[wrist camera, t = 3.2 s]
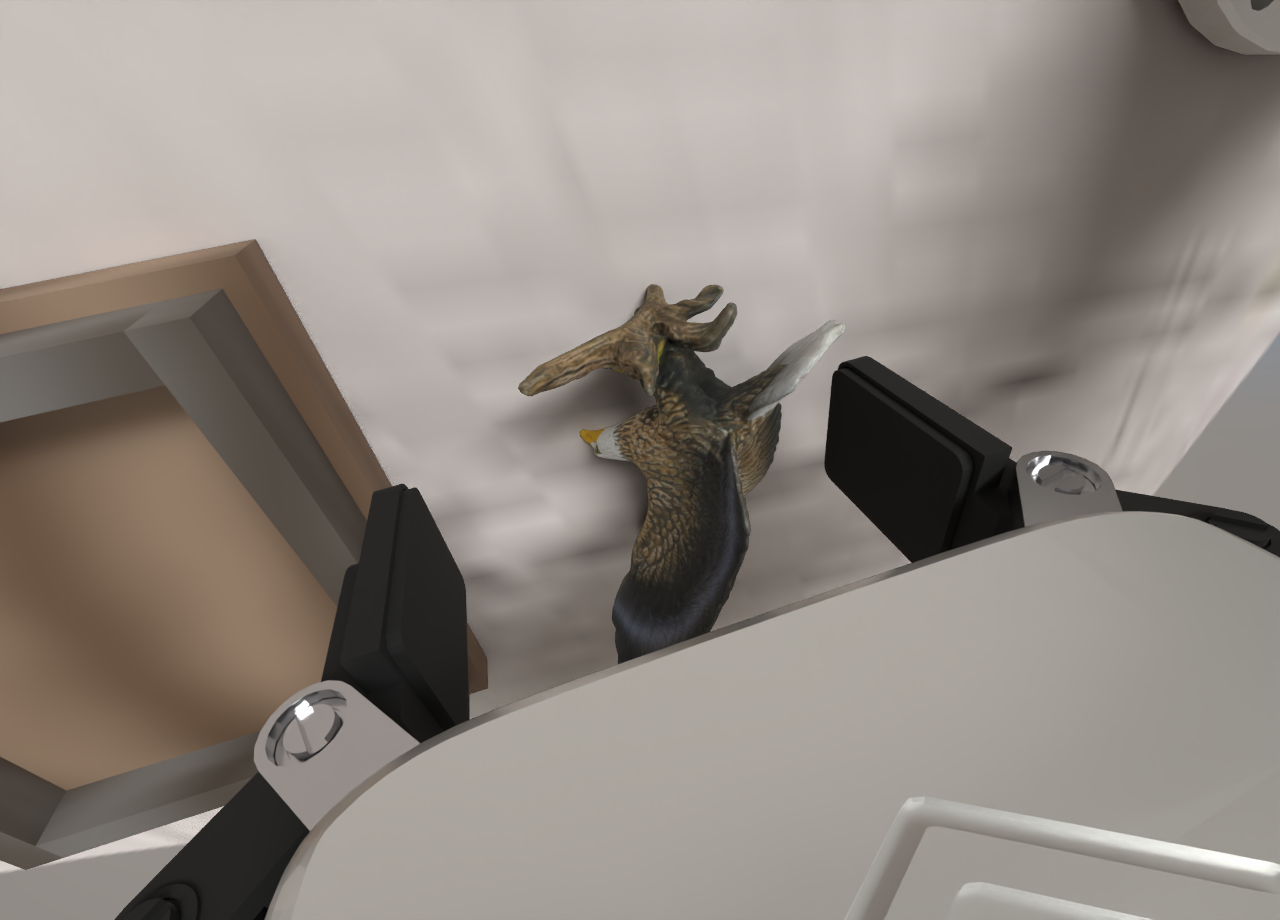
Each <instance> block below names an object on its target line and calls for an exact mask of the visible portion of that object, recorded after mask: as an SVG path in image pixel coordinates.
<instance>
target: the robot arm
mask: <svg viewBox="0 0 1280 920" xmlns="http://www.w3.org/2000/svg"><path fill="white" fill-rule="evenodd" d="M1178 1H1179V3H1180V5H1181V7H1182V9H1183V11H1184V13H1185V15H1186V17H1187V19H1188V21H1189V23H1190V24H1191V25H1192V26H1193V27H1194V28H1195V29H1197V30H1198V31H1199V32H1200V33H1201V34H1202V35H1203V36H1205V37H1206V38H1207V39H1208V40H1209V41H1210V42H1211V43H1212V44H1214V45H1215V46H1218V47H1221V48H1224V49H1228V50H1231V51H1234V52H1237V53H1240V54H1244V55H1259V54H1280V0H1178ZM1011 450H1012V447H1011V446H1009V445H1008V444H1006V443H1004V442H1003V441H1001V440H1000V439H998V438H997V437H995V436H993V435H992V434H990V433H989V432H987V431H986V430H984V429H982V428H981V427H979V426H978V425H976V424H974V423H973V422H971V421H970V420H968V419H967V418H965V417H963V416H962V415H960V414H959V413H957V412H956V411H954V410H952V409H951V408H949V407H948V406H946V405H945V404H943V403H941V402H940V401H938V400H937V399H935V398H934V397H932V396H930V395H929V394H927V393H926V392H924V391H923V390H921V389H919V388H918V387H916V386H915V385H913V384H912V383H910V382H908V381H907V380H905V379H904V378H902V377H901V376H899V375H897V374H896V373H894V372H893V371H891V370H890V369H888V368H886V367H885V366H883V365H882V364H880V363H879V362H877V361H875V360H874V359H872V358H871V357H868V356H864V357H860V358H856V359H853V360H849V361H846V362H843V363H841V364H840V365H839V367H838V370H837V371H835V372H834V374H833V376H832V385H831V397H830V408H829V419H828V430H827V441H826V452H825V470H826V473H827V475H828V477H829V478H830V479H831V481H832V482H833V483H834V484H835V485H836V486H837V487H838V488H839V489H840V490H841V491H842V492H843V493H844V494H845V495H846V496H847V497H848V498H849V499H850V500H851V501H852V502H853V503H854V504H855V505H856V506H857V507H858V508H859V509H860V510H861V511H862V512H863V513H864V514H865V515H866V516H867V517H868V518H869V519H870V520H871V522H872V523H873V524H874V525H875V526H876V527H877V528H878V529H879V530H880V531H881V532H882V533H883V534H884V535H885V536H886V537H887V538H888V539H889V540H890V541H891V542H892V543H893V544H894V545H895V546H896V547H897V548H898V549H899V550H900V551H901V552H902V553H903V554H904V555H905V556H906V557H907V558H908V559H909V560H910V561H911V562H912V563H911V564H908V565H905V566H902V567H899V568H896V569H893V570H890V571H887V572H884V573H881V574H878V575H875V576H872V577H869V578H866V579H863V580H861V581H858V582H855V583H852V584H849V585H846V586H843V587H840V588H837V589H834V590H831V591H828V592H825V593H822V594H819V595H817V596H814V597H811V598H808V599H805V600H802V601H799V602H796V603H793V604H790V605H788V606H785V607H782V608H779V609H776V610H773V611H770V612H767V613H764V614H761V615H759V616H756V617H753V618H750V619H747V620H744V621H741V622H738V623H735V624H732V625H730V626H727V627H724V628H721V629H718V630H715V631H712V632H709V633H706V634H704V635H701V636H698V637H695V638H692V639H689V640H686V641H684V642H681V643H678V644H675V645H672V646H669V647H667V648H664V649H661V650H658V651H655V652H652V653H649V654H647V655H644V656H641V657H638V658H635V659H632V660H629V661H627V662H624V663H621V664H618V665H615V666H612V667H610V668H607V669H604V670H601V671H598V672H595V673H592V674H590V675H587V676H584V677H581V678H578V679H576V680H573V681H570V682H567V683H565V684H562V685H559V686H557V687H554V688H551V689H548V690H546V691H543V692H540V693H538V694H535V695H532V696H529V697H527V698H524V699H521V700H519V701H516V702H513V703H510V704H508V705H505V706H502V707H500V708H497V709H495V710H492V711H490V712H488V713H485V714H483V715H480V716H478V717H476V718H473V719H471V720H470V719H469V684H468V649H467V614H466V589H465V584H464V580H463V577H462V575H461V573H460V571H459V569H458V567H457V565H456V563H455V561H454V559H453V557H452V555H451V553H450V551H449V549H448V547H447V545H446V543H445V541H444V539H443V537H442V535H441V533H440V531H439V529H438V527H437V525H436V523H435V521H434V519H433V517H432V515H431V513H430V511H429V509H428V507H427V505H426V503H425V502H424V500H423V498H422V496H421V494H420V492H419V490H418V489H417V488H412V489H408V488H407V486H406V485H405V484H399V485H396V486H392V487H388V488H385V489H381V490H378V491H375V492H373V495H372V499H371V504H370V509H369V514H368V519H367V524H366V529H365V534H364V539H363V545H362V550H361V555H360V560H359V563H358V564H354V565H351V566H349V567H348V568H347V570H346V572H345V575H344V579H343V584H342V588H341V593H340V597H339V602H338V606H337V611H336V615H335V620H334V624H333V629H332V634H331V638H330V643H329V647H328V652H327V656H326V661H325V665H324V670H323V674H322V679H321V682H320V683H316V684H313V685H311V686H309V687H307V688H305V689H303V690H301V691H299V692H297V693H296V694H294V695H293V696H292V697H290V698H289V699H288V700H286V701H285V702H284V703H283V704H282V705H281V706H280V707H279V708H278V709H277V710H276V711H275V712H274V713H273V714H272V715H271V716H270V717H269V719H268V720H267V722H266V723H265V725H264V726H263V728H262V729H261V731H260V733H259V736H258V739H257V741H256V744H255V746H254V762H255V764H256V767H257V769H258V772H257V773H256V774H255V775H254V777H253V778H252V779H251V780H250V781H249V782H248V783H247V784H246V785H245V786H244V787H243V788H242V789H241V790H240V791H239V792H238V793H237V794H236V795H235V796H234V797H233V798H232V799H231V800H230V801H229V802H228V803H227V804H226V805H225V806H224V807H223V808H222V809H221V810H220V811H219V812H218V813H217V814H216V815H215V816H214V817H213V818H212V819H211V820H210V821H209V822H208V823H207V824H206V825H205V826H204V827H203V828H202V830H201V831H200V832H199V833H198V834H197V835H196V836H195V837H194V838H193V839H192V840H191V841H190V842H189V843H188V844H187V845H186V846H185V847H184V848H183V849H182V850H181V851H180V852H179V853H178V854H177V855H176V856H175V857H174V858H173V859H172V860H171V861H170V862H169V863H168V864H167V865H166V866H165V867H164V868H163V869H162V870H161V871H160V872H159V873H158V874H157V875H156V876H155V877H154V878H153V880H152V881H150V883H149V884H148V885H147V886H146V887H145V888H144V889H143V890H142V891H141V892H140V893H139V894H138V895H137V896H136V897H135V898H134V899H133V900H132V901H131V902H130V903H129V904H128V905H127V906H126V907H125V908H124V909H123V911H122V912H121V913H120V914H119V915H118V916H117V917H116V919H115V920H1280V531H1279V530H1278V529H1276V528H1275V527H1273V526H1271V525H1269V524H1267V523H1265V522H1264V521H1262V520H1261V519H1259V518H1257V517H1255V516H1252V515H1250V514H1247V513H1244V512H1239V511H1234V510H1229V509H1225V508H1219V507H1213V506H1207V505H1202V504H1196V503H1190V502H1184V501H1178V500H1172V499H1167V498H1160V497H1155V496H1149V495H1143V494H1137V493H1132V492H1126V491H1120V490H1115V488H1114V485H1113V482H1112V480H1111V478H1110V477H1109V475H1108V474H1107V472H1105V471H1104V470H1103V469H1102V468H1100V467H1099V466H1098V465H1096V464H1094V463H1092V462H1090V461H1088V460H1086V459H1084V458H1081V457H1078V456H1075V455H1072V454H1067V453H1062V452H1056V451H1040V452H1033V453H1029V454H1027V455H1024V456H1022V457H1021V458H1020V459H1019V460H1018V461H1017V463H1016V462H1014V461H1013V460H1011V459H1010V458H1009V456H1010V453H1011Z"/></svg>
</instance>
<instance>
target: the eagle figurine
mask: <svg viewBox="0 0 1280 920" xmlns="http://www.w3.org/2000/svg"><path fill="white" fill-rule="evenodd" d="M723 291H724V289H723V287H721V286H718V285H709V286H707V287H705V288H704V289H703V290H702V291H701V292H700V293H699V295H698V296H697V297H696V298H695V299H692V300H683V301H680V302H679V303H677V304H673V305H668V304H667V303H666V301H665V299H664V295H663V291H662V289H661V287H660V286H658V285H652V284H651V285H650V286H648V288H647V292H646V300H645V303H644V304H642V306H640V307H639V308H637V309H636V311H635V313H634V316H633V317H632V318H631V319H630V320H629V321H627V322H626V323H625V324H624V325H622V326H621V327H619V328H617V329H614V330H611V331H608V332H606V333H604V334H602V335H600V336H597V337H595V338H593V339H592V340H590V341H588V342H586V343H584V344H582V345H580V346H578V347H576V348H575V349H573V350H570V351H568V352H566V353H564V354H562V355H560V356H558V357H556V358H554V359H552V360H550V361H548V362H546V363H544V364H542V365H540V366H538V367H537V368H536V369H535V370H534V371H533V372H532V373H531V374H530V375H529V376H528V377H527V378H526V379H525V380H524V381H523V382H521V383H520V385H519V387H518V389H519V390H520V392H521V393H523V394H525V395H527V396H533V395H535V394H538V393H540V392H543V391H547V390H551V389H555V388H557V387H560V386H563V385H565V384H567V383H569V382H570V381H572V380H575V379H580V378H582V377H584V376H586V375H587V374H588V373H589V372H591V371H593V370H595V369H597V368H605V369H608V368H610V369H613V370H615V371H617V372H622V373H625V374H626V375H627V376H628V377H630V378H632V379H634V380H636V379H639V380H640V383H641V385H642V387H643V388H644V392H645V394H646V395H647V396H649V397H650V396H652V395H654V396H655V398H656V404H657V405H655V406H653V407H649V408H646V409H644V410H642V411H640V412H638V413H636V414H634V415H632V416H631V417H629V418H627V419H626V420H625V421H623V422H621V423H619V424H617V425H615V426H610V427H606V428H604V429H601V430H598V431H587V430H584V429H582V430H581V431H580V437H582V438H583V439H584V440H585V441H586V442H587V443H588V444H590V445H591V446H592V447H593V448H594V453H595V454H596V455H597V456H598V457H602V458H608V459H614V460H623V461H629V462H633V463H635V464H636V465H637V466H638V467H639V468H640V469H641V471H642V473H643V474H644V476H645V479H646V486H647V496H648V509H647V515H646V519H645V521H644V524H643V527H642V529H641V531H640V533H639V535H638V537H637V539H636V541H635V544H634V547H633V551H632V558H631V568H630V571H629V573H628V574H627V575H626V576H625V578H624V579H623V581H622V584H621V586H620V588H619V591H618V593H617V596H616V599H615V602H614V607H613V611H612V620H613V623H614V626H615V628H616V632H615V644H616V649H617V652H618V664H621V663H624V662H627V661H629V660H632V659H635V658H638V657H641V656H644V655H647V654H649V653H652V652H655V651H658V650H661V649H664V648H667V647H669V646H672V645H675V644H678V643H681V642H684V641H686V640H689V639H692V638H695V637H698V636H701V635H704V634H706V633H709V632H710V631H711V629H712V627H713V625H714V623H715V621H716V620H717V618H718V615H719V613H720V611H721V609H722V607H723V605H724V604H725V602H726V601H727V599H728V598H729V594H730V591H731V590H732V588H733V585H734V582H735V579H736V575H737V573H738V571H739V569H740V567H741V564H742V562H743V560H744V557H745V554H746V551H747V549H748V543H749V535H750V531H751V529H750V521H749V515H748V511H747V508H746V502H745V498H744V496H745V495H746V494H747V493H749V492H750V491H751V490H752V489H753V488H754V487H755V486H756V485H757V484H758V483H759V482H760V480H761V479H762V478H763V477H764V476H765V474H766V472H767V470H768V469H769V467H770V464H771V463H772V462H773V457H774V452H775V451H776V445H777V443H778V441H779V435H778V434H779V431H780V426H781V416H782V414H781V404H779V401H780V400H781V399H782V398H783V397H785V396H786V395H788V394H790V393H791V392H792V391H794V390H795V387H796V386H797V384H798V383H799V381H800V380H801V379H803V378H804V377H805V376H806V375H807V374H808V373H809V372H810V370H811V369H812V367H813V366H814V365H815V364H816V362H818V361H819V359H820V358H821V356H822V355H823V354H824V352H826V350H827V349H828V348H829V347H830V346H831V345H832V343H833V342H834V341H835V340H836V339H838V338H839V337H840V335H841V334H842V333H843V332H844V330H845V327H846V324H845V323H838V321H836V320H832V321H829V322H827V323H826V324H824V325H823V326H822V327H821V328H819V329H818V330H817V331H815V332H814V333H811V334H810V335H808V336H807V337H805V338H804V339H801V340H799V341H798V342H796V343H794V344H793V345H791V346H790V347H789V348H787V349H786V350H785V351H784V352H783V353H782V354H781V355H780V356H779V357H778V358H777V359H776V360H775V361H774V362H773V363H772V365H771V366H770V367H769V368H768V369H767V370H766V371H764V372H762V373H760V374H759V375H757V376H754V377H752V378H750V379H749V380H747V381H745V382H743V383H741V384H738V385H736V386H734V387H730V386H728V385H726V384H725V383H724V382H722V381H721V380H719V379H718V378H716V377H715V374H714V371H713V370H711V369H709V368H706V367H705V364H704V363H703V362H702V361H701V360H700V358H699V357H698V356H697V355H696V354H695V352H694V351H699V352H710V351H714V350H716V349H718V348H719V346H720V343H721V340H722V338H723V337H724V336H725V335H726V333H727V331H728V330H729V328H730V327H731V326H732V324H733V322H734V320H735V318H736V315H737V307H736V304H734V303H729V304H727V306H726V307H725V308H724V309H723V310H722V311H721V313H720V314H719V315H718V316H717V318H716V319H715V320H714V321H713V322H710V323H690V322H687V321H686V320H688V319H690V318H691V317H693V316H695V315H697V314H699V313H702V312H704V311H707V310H709V309H710V308H711V307H712V306H713V305H714V304H715V303H716V302H717V300H718V299H719V298H720V297H721V295H722V294H723Z"/></svg>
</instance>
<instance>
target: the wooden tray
mask: <svg viewBox="0 0 1280 920" xmlns="http://www.w3.org/2000/svg"><path fill="white" fill-rule="evenodd" d="M388 487H392V486H391V484H390V482H389V480H388V479H387V477H386V475H385V473H384V471H383V470H382V468H381V466H380V464H379V462H378V460H377V459H376V457H375V455H374V453H373V451H372V450H371V448H370V446H369V444H368V442H367V441H366V439H365V437H364V435H363V433H362V431H361V430H360V428H359V426H358V424H357V422H356V421H355V419H354V417H353V415H352V413H351V412H350V410H349V408H348V406H347V404H346V403H345V401H344V399H343V397H342V395H341V393H340V392H339V390H338V388H337V386H336V384H335V383H334V381H333V379H332V377H331V375H330V374H329V372H328V370H327V368H326V366H325V364H324V363H323V361H322V359H321V357H320V355H319V354H318V352H317V350H316V348H315V346H314V345H313V343H312V341H311V339H310V337H309V335H308V334H307V332H306V330H305V328H304V326H303V325H302V323H301V321H300V319H299V317H298V316H297V314H296V312H295V310H294V308H293V306H292V305H291V303H290V301H289V299H288V297H287V296H286V294H285V292H284V290H283V288H282V287H281V285H280V283H279V281H278V279H277V278H276V276H275V274H274V272H273V270H272V268H271V267H270V265H269V263H268V261H267V259H266V258H265V256H264V254H263V252H262V250H261V249H260V247H259V245H258V243H257V241H256V239H254V240H249V241H244V242H239V243H234V244H229V245H223V246H218V247H213V248H208V249H203V250H198V251H193V252H188V253H183V254H178V255H173V256H168V257H163V258H157V259H152V260H147V261H142V262H137V263H132V264H127V265H122V266H117V267H112V268H107V269H102V270H97V271H91V272H86V273H81V274H76V275H71V276H66V277H61V278H56V279H51V280H46V281H41V282H36V283H31V284H25V285H20V286H15V287H10V288H5V289H0V860H1V861H4V862H6V863H9V864H12V865H14V866H17V867H20V868H22V869H25V870H27V869H30V868H33V867H36V866H39V865H43V864H46V863H49V862H52V861H55V860H58V859H61V858H64V857H67V856H70V855H74V854H77V853H80V852H83V851H86V850H89V849H92V848H95V847H98V846H101V845H105V844H108V843H111V842H114V841H117V840H120V839H123V838H126V837H129V836H132V835H136V834H139V833H142V832H145V831H148V830H151V829H154V828H157V827H160V826H163V825H167V824H170V823H173V822H176V821H179V820H182V819H185V818H188V817H191V816H194V815H198V814H201V813H204V812H207V811H210V810H213V809H216V808H219V807H222V806H225V805H226V804H227V803H228V802H229V801H230V800H231V799H232V798H233V797H234V796H235V795H236V794H237V793H238V792H239V791H240V790H241V789H242V788H243V787H244V786H245V785H246V784H247V783H248V782H249V781H250V780H251V779H252V778H253V777H254V775H255V774H256V773H257V772H258V769H257V767H256V764H255V762H254V746H255V744H256V741H257V739H258V736H259V733H260V731H261V729H262V728H263V726H264V725H265V723H266V722H267V720H268V719H269V717H270V716H271V715H272V714H273V713H274V712H275V711H276V710H277V709H278V708H279V707H280V706H281V705H282V704H283V703H284V702H285V701H286V700H288V699H289V698H290V697H292V696H293V695H294V694H296V693H297V692H299V691H301V690H303V689H305V688H307V687H309V686H311V685H313V684H316V683H320V682H321V679H322V674H323V670H324V665H325V661H326V656H327V652H328V647H329V643H330V638H331V634H332V629H333V624H334V620H335V615H336V611H337V606H338V602H339V597H340V593H341V588H342V584H343V579H344V575H345V572H346V570H347V568H348V567H349V566H351V565H354V564H358V563H359V560H360V555H361V550H362V545H363V539H364V534H365V529H366V524H367V519H368V514H369V509H370V504H371V499H372V495H373V492H375V491H378V490H381V489H385V488H388ZM467 649H468V684H469V694H471V693H474V692H477V691H480V690H484V689H487V688H488V673H487V658H486V656H485V654H484V653H483V651H482V649H481V647H480V645H479V643H478V642H477V640H476V638H475V636H474V634H473V633H472V631H471V629H470V627H469V625H468V624H467Z"/></svg>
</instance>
